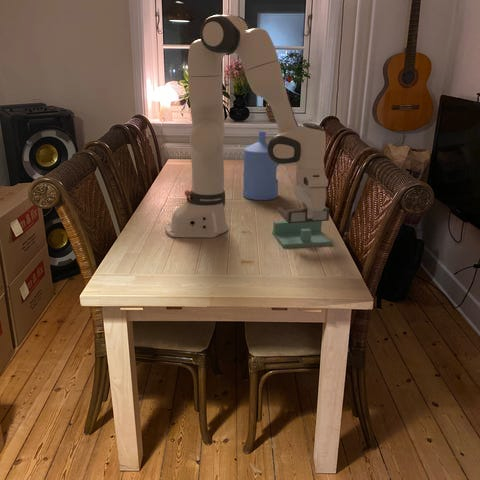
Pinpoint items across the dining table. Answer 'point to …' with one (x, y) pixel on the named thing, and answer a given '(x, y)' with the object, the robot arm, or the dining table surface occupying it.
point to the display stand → (299, 234)
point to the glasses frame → (303, 215)
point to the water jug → (259, 171)
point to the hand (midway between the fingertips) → (307, 216)
